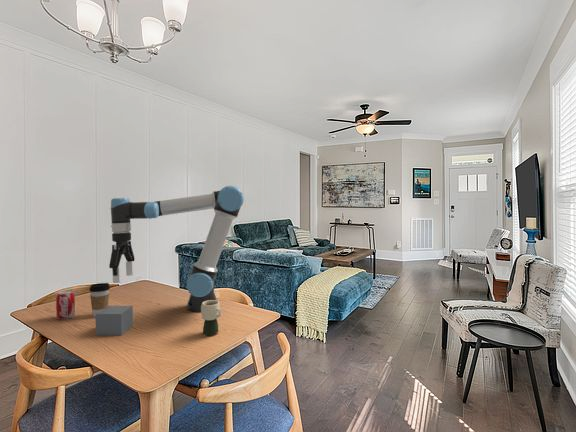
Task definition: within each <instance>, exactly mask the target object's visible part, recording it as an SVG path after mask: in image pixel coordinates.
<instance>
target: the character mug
mask: <svg viewBox="0 0 576 432" xmlns="http://www.w3.org/2000/svg"><path fill="white" fill-rule="evenodd" d="M220 307H221V305H220V301H219V300H208V301H204V302H203V303H202V305H201V318H202V319H203V320H204V322H203V329H202V334H203V335H206V336H212V335H214V334H217V333H219V324H218V318H221V316H222V309H221V308H220Z"/></svg>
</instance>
